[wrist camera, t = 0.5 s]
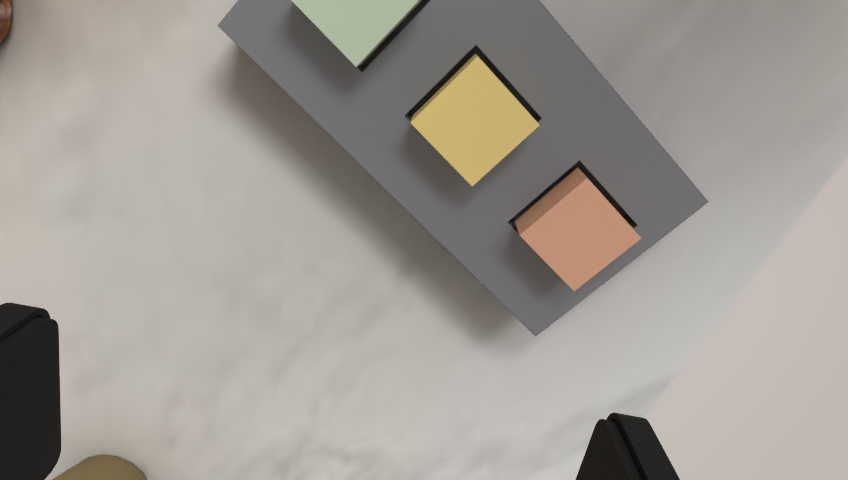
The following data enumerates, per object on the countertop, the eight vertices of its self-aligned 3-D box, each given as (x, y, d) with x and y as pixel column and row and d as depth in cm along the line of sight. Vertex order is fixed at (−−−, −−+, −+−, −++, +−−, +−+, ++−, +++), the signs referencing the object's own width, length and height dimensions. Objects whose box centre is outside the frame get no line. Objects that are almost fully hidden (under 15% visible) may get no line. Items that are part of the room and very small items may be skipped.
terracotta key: (577, 167, 31) (587, 178, 29) (628, 223, 32) (641, 238, 30) (514, 221, 32) (519, 235, 30) (565, 274, 33) (574, 291, 31)
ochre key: (475, 53, 29) (477, 56, 27) (533, 117, 30) (539, 125, 28) (412, 115, 30) (410, 122, 28) (470, 175, 31) (472, 186, 29)
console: (395, -155, 29) (388, -180, 25) (680, 181, 35) (708, 201, 31) (243, 24, 32) (217, 25, 28) (526, 305, 38) (535, 336, 34)
